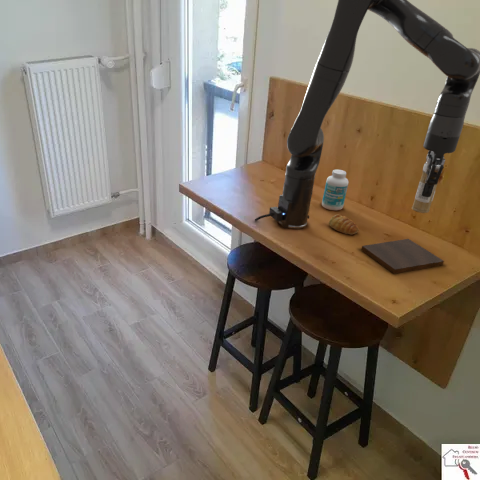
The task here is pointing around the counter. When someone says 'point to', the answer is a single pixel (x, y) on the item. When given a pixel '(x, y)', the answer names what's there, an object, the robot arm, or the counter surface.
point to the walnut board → (402, 256)
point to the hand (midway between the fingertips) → (425, 192)
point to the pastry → (343, 224)
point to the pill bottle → (335, 190)
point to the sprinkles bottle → (420, 201)
